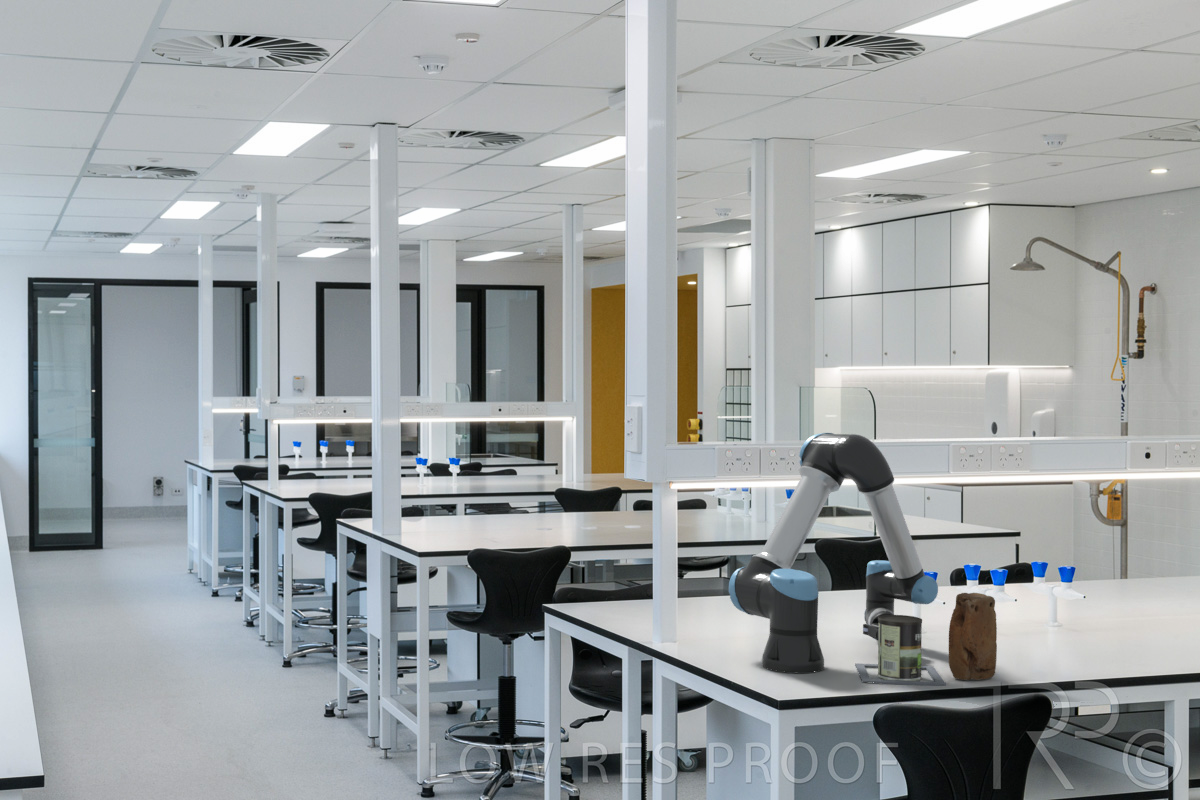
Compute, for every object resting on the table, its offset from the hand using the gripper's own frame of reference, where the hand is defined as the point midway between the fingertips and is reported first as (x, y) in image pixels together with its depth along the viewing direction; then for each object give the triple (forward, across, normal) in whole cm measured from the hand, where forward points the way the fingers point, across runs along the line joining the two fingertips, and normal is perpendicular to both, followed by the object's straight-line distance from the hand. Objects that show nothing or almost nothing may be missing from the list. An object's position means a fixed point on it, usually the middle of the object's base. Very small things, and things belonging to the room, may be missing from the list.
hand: (895, 642), depth 299 cm
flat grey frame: (+8, 0, -6) cm, 10 cm away
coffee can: (+10, 0, -7) cm, 12 cm away
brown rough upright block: (+8, -17, -7) cm, 20 cm away
